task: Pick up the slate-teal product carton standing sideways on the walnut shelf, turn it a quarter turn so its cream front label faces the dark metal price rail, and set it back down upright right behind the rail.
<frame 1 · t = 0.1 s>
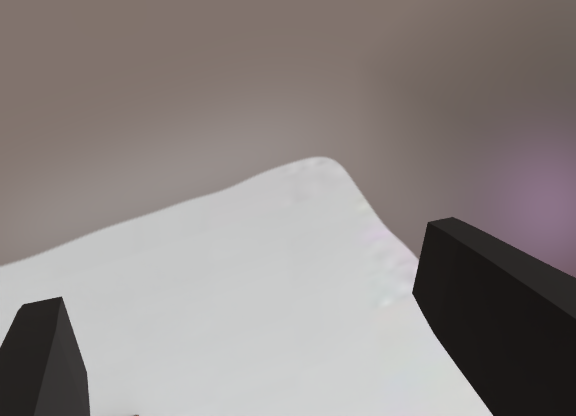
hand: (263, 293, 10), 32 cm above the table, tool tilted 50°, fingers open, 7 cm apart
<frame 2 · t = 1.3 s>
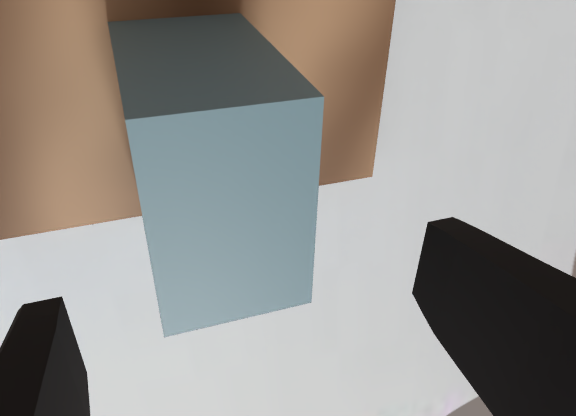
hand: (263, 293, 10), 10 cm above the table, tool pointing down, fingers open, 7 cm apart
price rail shelf: (170, 7, 16), on the table
carton: (185, 109, 17), point 1 cm above the table, touching price rail shelf
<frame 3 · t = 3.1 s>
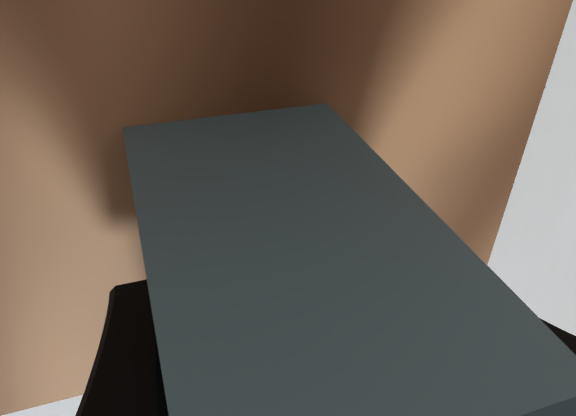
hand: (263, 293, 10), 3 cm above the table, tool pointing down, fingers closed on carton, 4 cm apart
price rail shelf: (220, 91, 11), on the table
carton: (236, 237, 11), point 1 cm above the table, touching gripper, price rail shelf
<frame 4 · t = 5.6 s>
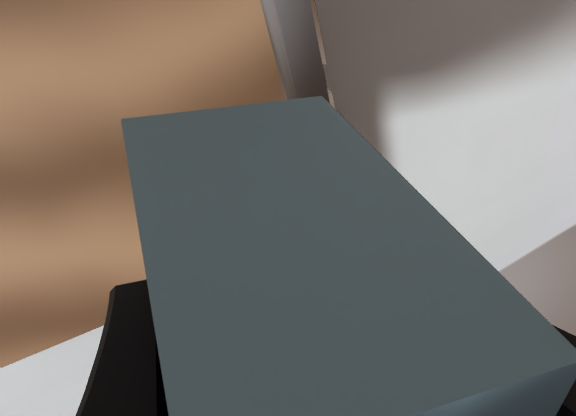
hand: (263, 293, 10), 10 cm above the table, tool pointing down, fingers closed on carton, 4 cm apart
price rail shelf: (80, 135, 17), on the table
carton: (233, 229, 12), point 8 cm above the table, touching gripper
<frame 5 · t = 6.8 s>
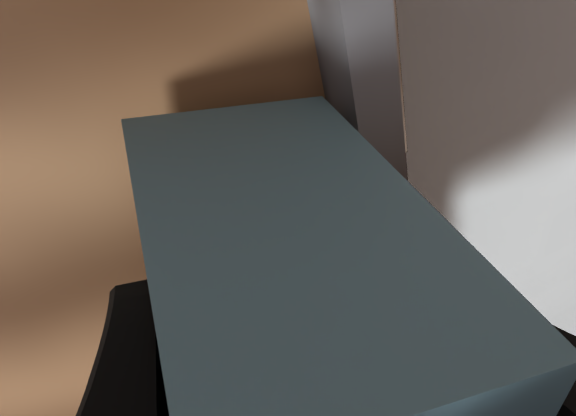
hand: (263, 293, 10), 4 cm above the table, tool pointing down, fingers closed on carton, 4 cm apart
price rail shelf: (67, 236, 13), on the table
carton: (233, 229, 12), point 2 cm above the table, touching gripper
when the fingers open (4 cm above the table, at t = 7.7 s): carton stays where it is, resting on price rail shelf.
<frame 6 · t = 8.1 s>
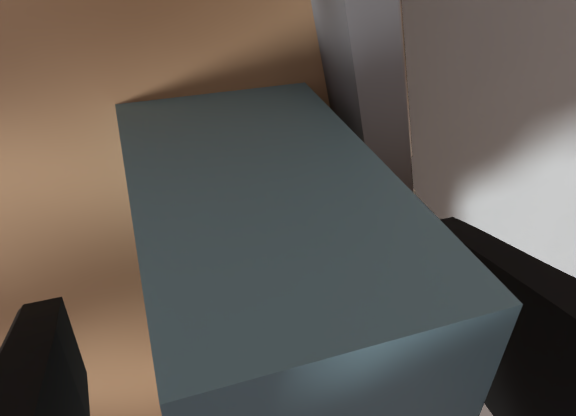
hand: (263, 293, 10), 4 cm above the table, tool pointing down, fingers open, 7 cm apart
price rail shelf: (68, 241, 13), on the table
carton: (223, 210, 12), point 1 cm above the table, touching price rail shelf
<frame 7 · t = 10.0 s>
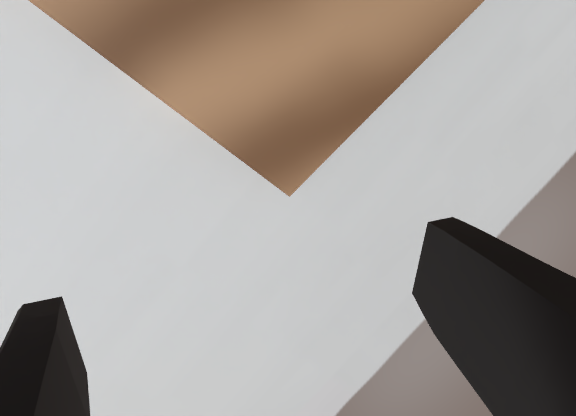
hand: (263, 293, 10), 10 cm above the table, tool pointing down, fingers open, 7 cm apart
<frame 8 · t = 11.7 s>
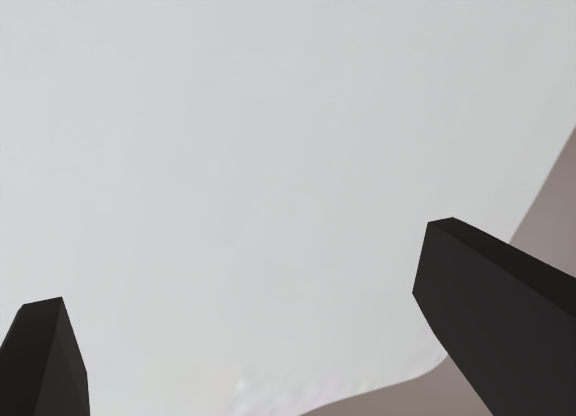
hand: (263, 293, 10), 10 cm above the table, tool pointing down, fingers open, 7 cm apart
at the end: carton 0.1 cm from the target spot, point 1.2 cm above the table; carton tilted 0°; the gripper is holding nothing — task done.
